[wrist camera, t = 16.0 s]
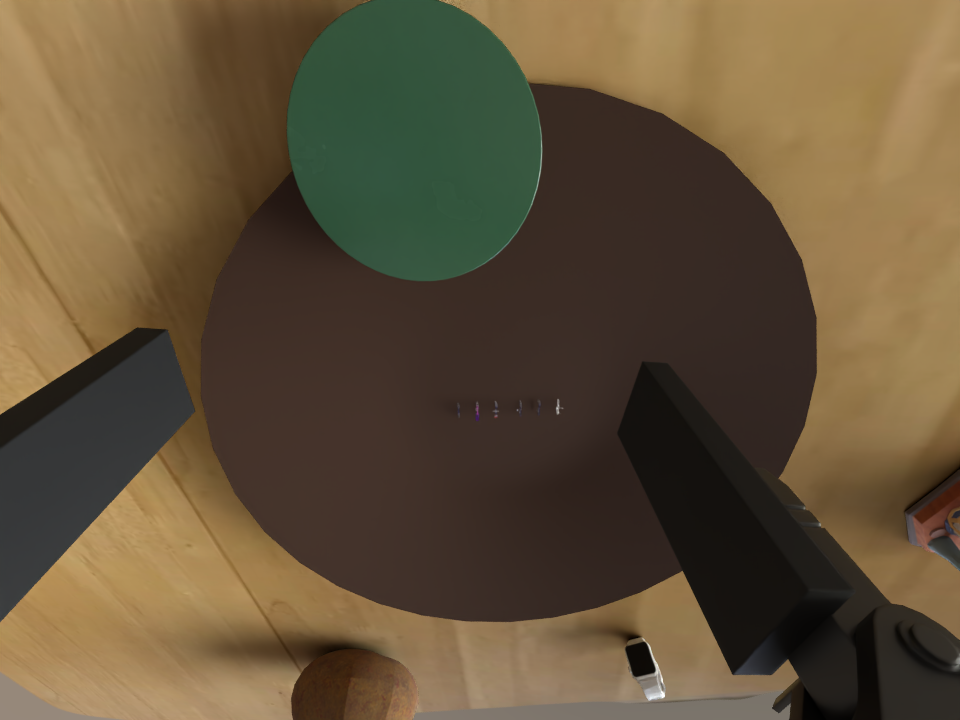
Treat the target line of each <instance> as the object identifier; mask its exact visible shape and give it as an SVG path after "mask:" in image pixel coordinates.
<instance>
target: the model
mask: <svg viewBox="0 0 960 720" xmlns="http://www.w3.org/2000/svg"><path fill="white" fill-rule="evenodd" d="M905 515H906V522H907V529H908V537H909V542H910V543H911V544H912V545H916V546H920V547H923V548H924V549H925V550H926V551H929V552H934V553H937V554H938V555H940V556H942V557H943V558H945V559H946V560H948V561H949V562H950V563H951V564H952V565H954V566H955V567H956V568H957V569H958V570H959V571H960V469H959V470H958V471H957V472H956V473H954V474H953V475H952V476H951V477H949V478H948V479H947V480H946V481H945V482H943V483H942V484H941V485H940V486H938V487H937V488H936V489H935V490H933V491H932V492H931V493H929V494H928V495H927V496H925V497H924V498H923V499H921V500H920V501H919V502H918V503H916V504H915V505H914V506H912V507H911V508H910V509H908V510H907V511H906V512H905Z"/></svg>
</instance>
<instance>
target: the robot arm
mask: <svg viewBox="0 0 960 720" xmlns="http://www.w3.org/2000/svg"><path fill="white" fill-rule="evenodd" d="M194 412H195V409H194V406H193V403H192V400H191V397H190V394H189V392H188V389H187V386H186V383H185V380H184V377H183V374H182V371H181V368H180V365H179V362H178V359H177V356H176V353H175V350H174V347H173V344H172V341H171V338H170V335H169V332H168V330H166V329H151V328H136V329H134V330H133V331H131V332H129V333H128V334H126V335H125V336H123V337H122V338H120V339H118V340H117V341H115V342H114V343H112V344H111V345H109V346H107V347H106V348H104V349H103V350H101V351H100V352H98V353H96V354H95V355H93V356H92V357H90V358H89V359H87V360H85V361H84V362H82V363H81V364H79V365H78V366H76V367H74V368H73V369H71V370H70V371H68V372H67V373H65V374H63V375H62V376H60V377H59V378H57V379H56V380H54V381H52V382H51V383H49V384H48V385H46V386H45V387H43V388H41V389H40V390H38V391H37V392H35V393H34V394H32V395H30V396H29V397H27V398H26V399H24V400H23V401H21V402H19V403H18V404H16V405H15V406H13V407H12V408H10V409H8V410H7V411H5V412H4V413H2V414H1V415H0V622H1V621H2V620H3V619H4V617H5V616H6V615H7V614H8V613H9V612H10V611H11V610H12V609H13V608H14V607H15V606H16V604H17V603H18V602H19V601H20V600H21V599H22V598H23V597H24V596H25V595H26V594H27V593H28V591H29V590H30V589H31V588H32V587H33V586H34V585H35V584H36V583H37V582H38V581H39V580H40V579H41V577H42V576H43V575H44V574H45V573H46V572H47V571H48V570H49V569H50V568H51V567H52V566H53V564H54V563H55V562H56V561H57V560H58V559H59V558H60V557H61V556H62V555H63V554H64V553H65V551H66V550H67V549H68V548H69V547H70V546H71V545H72V544H73V543H74V542H75V541H76V540H77V538H78V537H79V536H80V535H81V534H82V533H83V532H84V531H85V530H86V529H87V528H88V527H89V526H90V524H91V523H92V522H93V521H94V520H95V519H96V518H97V517H98V516H99V515H100V514H101V513H102V511H103V510H104V509H105V508H106V507H107V506H108V505H109V504H110V503H111V502H112V501H113V500H114V498H115V497H116V496H117V495H118V494H119V493H120V492H121V491H122V490H123V489H124V488H125V487H126V485H127V484H128V483H129V482H130V481H131V480H132V479H133V478H134V477H135V476H136V475H137V474H138V473H139V471H140V470H141V469H142V468H143V467H144V466H145V465H146V464H147V463H148V462H149V461H150V460H151V458H152V457H153V456H154V455H155V454H156V453H157V452H158V451H159V450H160V449H161V448H162V447H163V445H164V444H165V443H166V442H167V441H168V440H169V439H170V438H171V437H172V436H173V435H174V434H175V432H176V431H177V430H178V429H179V428H180V427H181V426H182V425H183V424H184V423H185V422H186V421H187V420H188V418H189V417H190V416H191V415H192V414H193V413H194ZM617 435H618V437H619V439H620V441H621V443H622V445H623V447H624V449H625V451H626V453H627V455H628V457H629V460H630V462H631V464H632V466H633V468H634V470H635V472H636V474H637V476H638V478H639V480H640V482H641V485H642V487H643V489H644V491H645V493H646V495H647V497H648V499H649V501H650V503H651V505H652V508H653V510H654V512H655V514H656V516H657V518H658V520H659V522H660V524H661V526H662V528H663V530H664V533H665V535H666V537H667V539H668V541H669V543H670V545H671V547H672V549H673V551H674V553H675V556H676V558H677V560H678V562H679V564H680V566H681V568H682V570H683V572H684V574H685V576H686V578H687V581H688V583H689V585H690V587H691V589H692V591H693V593H694V595H695V597H696V599H697V601H698V604H699V606H700V608H701V610H702V612H703V614H704V616H705V618H706V620H707V622H708V624H709V626H710V629H711V631H712V633H713V635H714V637H715V639H716V641H717V643H718V645H719V647H720V649H721V652H722V654H723V656H724V658H725V660H726V662H727V664H728V666H729V668H730V670H731V672H732V674H733V675H772V674H773V673H774V672H775V671H776V670H777V669H778V668H779V667H780V666H781V665H782V664H783V663H784V662H785V661H786V660H787V659H789V661H790V663H791V665H792V666H793V668H794V670H795V671H796V673H797V675H798V676H799V678H798V679H797V680H796V681H795V682H794V683H793V684H792V685H790V686H789V687H788V688H787V689H786V690H785V691H784V692H783V693H782V694H781V695H780V696H778V697H777V698H776V700H775V702H774V705H773V707H772V709H774V710H775V711H776V712H778V713H780V712H781V711H782V710H783V709H784V708H785V707H787V705H789V704H790V703H791V707H790V719H789V720H960V640H959V639H957V638H956V637H955V636H954V635H953V634H951V633H950V632H949V631H948V630H947V629H946V628H944V627H943V626H941V625H940V624H938V623H937V622H935V621H933V620H932V619H930V618H929V617H927V616H925V615H924V614H922V613H920V612H917V611H915V610H913V609H910V608H908V607H905V606H903V605H897V604H891V603H890V602H889V601H888V600H887V599H886V598H885V597H884V595H883V594H882V593H881V592H880V591H879V590H878V589H877V587H876V586H875V585H874V584H873V583H872V582H871V581H870V579H869V578H868V577H867V576H866V575H865V574H864V573H863V571H862V570H861V569H860V568H859V567H858V566H857V565H856V563H855V562H854V561H853V560H852V559H851V558H850V557H849V555H848V554H847V553H846V552H845V551H844V550H843V549H842V547H841V546H840V545H839V544H838V543H837V542H836V541H835V539H834V538H833V537H832V536H831V535H830V534H829V533H828V531H827V530H826V529H825V528H821V526H820V524H821V523H820V522H819V521H818V520H817V519H816V518H815V517H814V515H813V514H812V513H811V512H810V511H809V510H806V509H805V505H804V504H803V503H802V502H801V501H800V499H799V498H798V497H797V496H796V495H795V494H794V493H793V491H792V490H791V489H790V488H789V487H788V486H787V485H786V484H785V483H783V482H782V481H781V480H779V479H778V478H777V477H775V476H774V475H773V474H771V473H770V472H769V471H767V470H766V469H765V468H754V467H753V466H752V465H751V464H750V462H749V461H748V460H747V459H746V457H745V456H744V455H743V454H742V453H741V451H740V450H739V449H738V448H737V447H736V445H735V444H734V443H733V442H732V440H731V439H730V438H729V437H728V436H727V434H726V433H725V432H724V431H723V430H722V428H721V427H720V426H719V425H718V423H717V422H716V421H715V420H714V419H713V417H712V416H711V415H710V414H709V413H708V411H707V410H706V409H705V408H704V407H703V405H702V404H701V403H700V402H699V400H698V399H697V398H696V397H695V396H694V394H693V393H692V392H691V391H690V390H689V388H688V387H687V386H686V385H685V383H684V382H683V381H682V380H681V379H680V377H679V376H678V375H677V374H676V373H675V371H674V370H673V369H672V368H671V366H670V365H669V364H668V363H661V362H646V361H642V364H641V366H640V369H639V372H638V375H637V378H636V381H635V384H634V386H633V389H632V392H631V395H630V398H629V401H628V404H627V406H626V409H625V412H624V415H623V418H622V421H621V424H620V426H619V429H618V432H617Z"/></svg>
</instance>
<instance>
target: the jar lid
mask: <svg viewBox="0 0 960 720" xmlns="http://www.w3.org/2000/svg"><path fill="white" fill-rule="evenodd" d="M287 142H288V152H289V157H290V161H291V166H292V170H293V173H294V176H295V179H296V182H297V185H298V188H299V190H300V192H301V195H302V197H303V199H304V201H305V203H306V205H307V207H308V208H309V210H310V212H311V213H312V215H313V217H314V218H315V220H316V221H317V222H318V224H319V225H320V226H321V228H322V229H323V230H324V232H325V233H326V234H327V235H328V236H329V237H330V238H331V239H332V240H333V241H334V242H335V243H336V244H337V245H338V246H339V247H340V248H341V249H343V250H344V251H345V252H346V253H347V254H348V255H350V256H351V257H353V258H354V259H356V260H357V261H359V262H360V263H362V264H364V265H366V266H367V267H369V268H371V269H373V270H375V271H378V272H380V273H383V274H386V275H388V276H392V277H396V278H400V279H404V280H413V281H437V280H444V279H449V278H453V277H457V276H460V275H463V274H465V273H468V272H470V271H472V270H474V269H476V268H478V267H480V266H481V265H483V264H485V263H486V262H488V261H489V260H490V259H492V258H493V257H494V256H496V255H497V254H498V253H499V252H500V251H501V250H502V249H503V248H504V247H505V246H506V245H507V244H508V243H509V242H510V241H511V239H512V238H513V237H514V236H515V234H516V233H517V232H518V230H519V229H520V227H521V225H522V224H523V222H524V221H525V219H526V217H527V215H528V212H529V210H530V208H531V206H532V204H533V201H534V198H535V194H536V191H537V188H538V183H539V178H540V173H541V164H542V133H541V127H540V120H539V114H538V111H537V107H536V104H535V100H534V97H533V94H532V92H531V89H530V87H529V84H528V82H527V80H526V77H525V75H524V74H523V72H522V70H521V68H520V67H519V65H518V63H517V61H516V60H515V58H514V57H513V56H512V54H511V53H510V52H509V50H508V49H507V48H506V46H505V45H504V44H503V43H502V42H501V41H500V40H499V39H498V37H497V36H496V35H495V34H494V33H493V32H492V31H491V30H490V29H489V28H487V27H486V26H485V25H483V24H482V23H481V22H479V21H478V20H477V19H475V18H474V17H473V16H471V15H470V14H468V13H466V12H464V11H462V10H460V9H459V8H457V7H455V6H453V5H450V4H447V3H444V2H441V1H439V0H371V1H368V2H365V3H362V4H360V5H357V6H356V7H354V8H352V9H350V10H349V11H347V12H345V13H343V14H342V15H340V16H339V17H338V18H337V19H335V20H334V21H333V22H332V23H330V24H329V25H328V26H327V27H326V28H325V29H324V30H323V31H322V32H321V34H320V35H319V36H318V37H317V38H316V39H315V40H314V42H313V43H312V45H311V46H310V48H309V49H308V51H307V53H306V54H305V56H304V57H303V59H302V62H301V64H300V66H299V68H298V71H297V73H296V75H295V78H294V82H293V85H292V89H291V92H290V97H289V104H288V110H287Z"/></svg>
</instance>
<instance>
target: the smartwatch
mask: <svg viewBox="0 0 960 720" xmlns="http://www.w3.org/2000/svg"><path fill="white" fill-rule="evenodd" d="M625 655H626V658H627V661H628V664H629V667H628V669H629V672H630V673H631V674H632V677H633V678H634V679H635V680H637V682H638V683H639V684H640V686H641V687H642V689H643V691H644V693H645V695H646V697H647V698H648V700H650V701H652V700H656V699H661V698H665V696H664V695H665V690H666V688H665V685H664V683H663V682H662V676H661V673H660V670H659V667H658V664H657V663H656V661H655V660H654V657H653V654H652V651H651V648H650V646H649V644H648V643H647V642H646V641H645V640H644V639H643V637H640V638H636V639H633V640H629V641H628V643H627V646H626V647H625Z"/></svg>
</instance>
